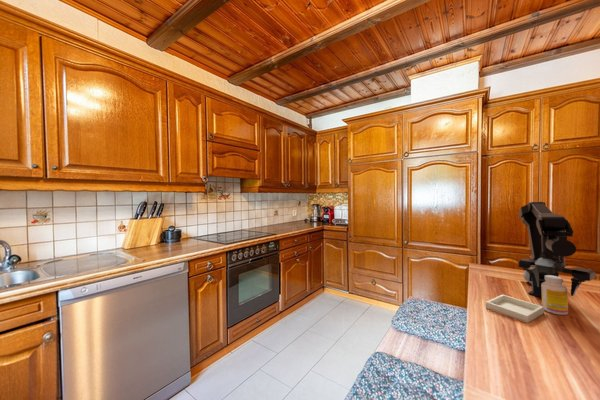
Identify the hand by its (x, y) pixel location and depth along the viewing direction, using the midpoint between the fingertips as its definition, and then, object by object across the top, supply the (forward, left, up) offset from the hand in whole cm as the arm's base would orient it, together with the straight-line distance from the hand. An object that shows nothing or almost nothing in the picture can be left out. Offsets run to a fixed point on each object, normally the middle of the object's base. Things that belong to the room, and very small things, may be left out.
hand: (554, 291), depth 87 cm
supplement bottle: (0, 0, -8) cm, 8 cm away
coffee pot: (-32, -15, -8) cm, 36 cm away
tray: (+12, -7, -8) cm, 16 cm away
